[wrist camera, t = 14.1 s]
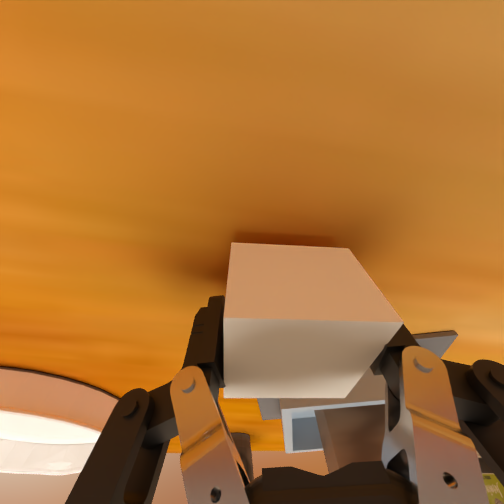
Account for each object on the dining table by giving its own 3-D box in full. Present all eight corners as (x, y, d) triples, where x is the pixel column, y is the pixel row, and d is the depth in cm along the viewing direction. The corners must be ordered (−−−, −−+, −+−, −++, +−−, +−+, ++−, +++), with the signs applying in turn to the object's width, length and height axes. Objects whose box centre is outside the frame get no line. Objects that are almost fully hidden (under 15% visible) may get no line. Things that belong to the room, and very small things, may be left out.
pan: (-216, 349, 16) (-331, 410, 13) (142, 357, 19) (121, 409, 16) (-20, 442, 30) (-52, 482, 27) (171, 439, 33) (163, 476, 29)
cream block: (348, 248, 11) (404, 322, 7) (318, 321, 14) (344, 398, 10) (231, 242, 10) (223, 317, 6) (229, 319, 14) (223, 398, 10)
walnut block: (379, 378, 20) (425, 468, 15) (367, 403, 23) (401, 483, 18) (316, 384, 20) (340, 475, 15) (313, 408, 23) (332, 488, 18)
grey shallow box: (454, 330, 18) (502, 381, 14) (400, 404, 27) (422, 445, 23) (246, 351, 18) (247, 404, 15) (262, 416, 27) (265, 458, 24)
